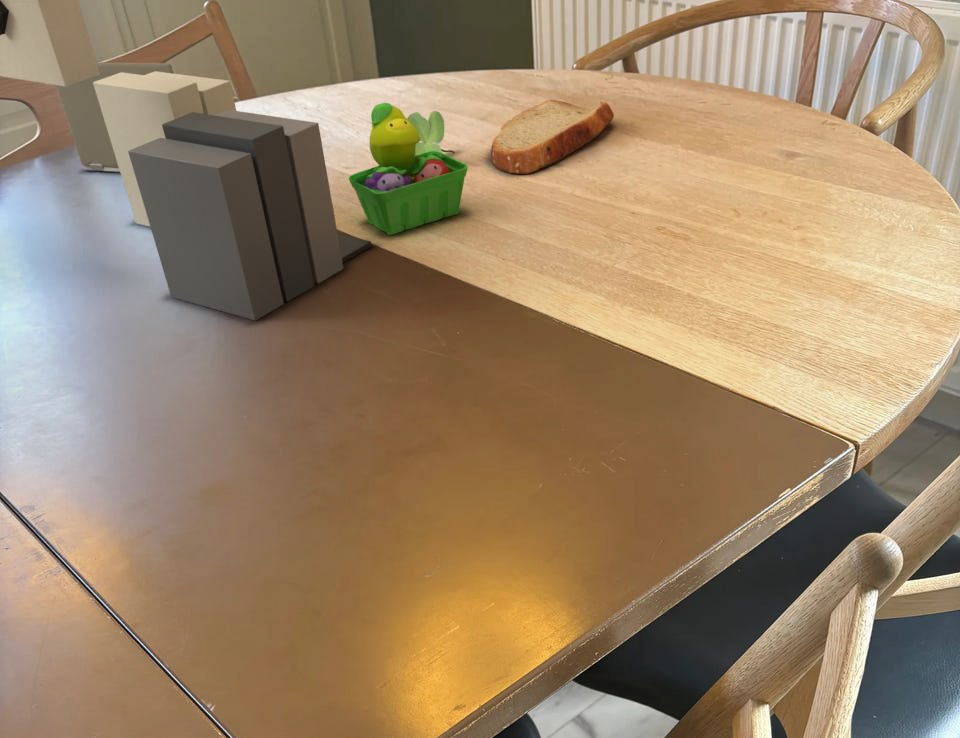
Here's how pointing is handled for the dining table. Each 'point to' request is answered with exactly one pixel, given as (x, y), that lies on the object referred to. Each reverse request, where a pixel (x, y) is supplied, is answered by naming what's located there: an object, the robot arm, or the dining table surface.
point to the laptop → (97, 114)
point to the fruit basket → (406, 177)
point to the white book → (46, 43)
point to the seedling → (428, 132)
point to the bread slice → (546, 135)
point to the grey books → (241, 210)
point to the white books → (152, 114)
